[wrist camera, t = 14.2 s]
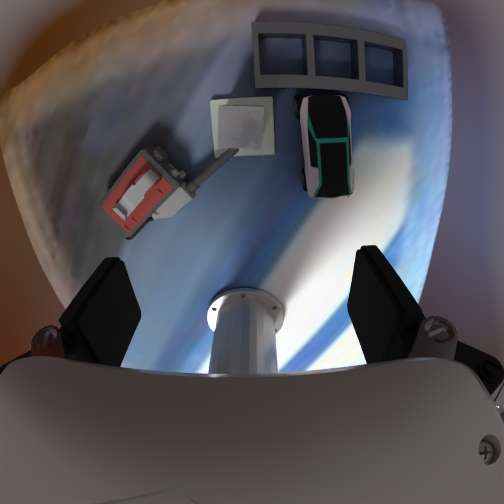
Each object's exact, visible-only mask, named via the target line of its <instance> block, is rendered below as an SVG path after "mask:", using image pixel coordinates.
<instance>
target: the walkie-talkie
mask: <svg viewBox="0 0 504 504" xmlns="http://www.w3.org/2000/svg"><path fill="white" fill-rule="evenodd" d="M238 151H239V149H233V148H228V149H227V150H226V151H225V152H224V153H223V154H221V155H220V156H219V157H218V158H217V159H216V160H215V161H213V162H212V163H211V164H210V165H209V166H208V167H207V168H206V169H205V170H203V171H202V172H201V173H200V174H199V175H198V176H197V177H196V178H195V179H192V180H191V181H190V182H189V183H188V184H187V183H186V182H185V181H184V180H185V176H186V173H185V172H184V171H183V170H181V171H178V170H177V169H176V168H175V167H174V166H173V165H172V164H171V163H170V162H169V161H168V160H167V158H168V154H167V152H166V151H165V150H164V149H163V148H161V147H159V146H156V147H154V146H153V145H150V146H147V147H146V148H144V149H141V150H140V151H139V152H138V153H137V154H136V157H135V158H134V159H133V160H132V161H131V162H130V163H129V164H128V165H127V166H126V169H125V170H124V171H123V172H122V174H121V176H120V177H119V178H118V179H117V180H116V182H115V183H114V185H113V186H112V188H110V190H109V191H108V193H107V194H106V196H104V198H103V199H102V201H101V202H100V204H99V205H98V212H99V214H100V215H101V216H102V217H103V218H104V219H105V220H106V221H107V222H108V223H109V224H110V225H111V226H112V227H113V228H114V229H115V230H116V231H117V232H118V233H119V234H120V235H122V236H123V237H125V239H127V240H131V239H133V238H134V237H135V236H136V235H137V234H138V232H139V231H140V230H141V229H142V228H143V227H144V226H145V225H146V224H147V223H148V222H149V221H153V220H155V221H156V220H157V219H158V218H167V217H172V216H173V215H174V214H175V213H176V212H177V211H179V210H180V209H181V208H182V207H183V206H184V205H185V204H186V203H187V202H190V201H191V200H192V199H193V198H194V196H195V195H196V192H195V191H196V190H197V189H198V188H199V186H200V185H201V184H202V183H203V182H204V181H205V180H206V179H207V178H209V177H210V176H211V175H212V174H213V173H214V172H215V171H217V170H218V169H219V168H220V167H221V166H222V165H223V164H225V163H226V162H227V161H228V160H229V159H230V158H232V157H233V156H234V155H235V154H236V153H238ZM151 215H152V216H153V217H150V216H151ZM149 217H150V218H149Z"/></svg>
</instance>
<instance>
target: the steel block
mask: <svg viewBox="0 0 504 504" xmlns="http://www.w3.org/2000/svg"><path fill="white" fill-rule="evenodd" d="M263 119H264V107H263V106H262V105H239V104H225V105H220V106H218V148H233V149H258V150H262V136H263Z"/></svg>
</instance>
